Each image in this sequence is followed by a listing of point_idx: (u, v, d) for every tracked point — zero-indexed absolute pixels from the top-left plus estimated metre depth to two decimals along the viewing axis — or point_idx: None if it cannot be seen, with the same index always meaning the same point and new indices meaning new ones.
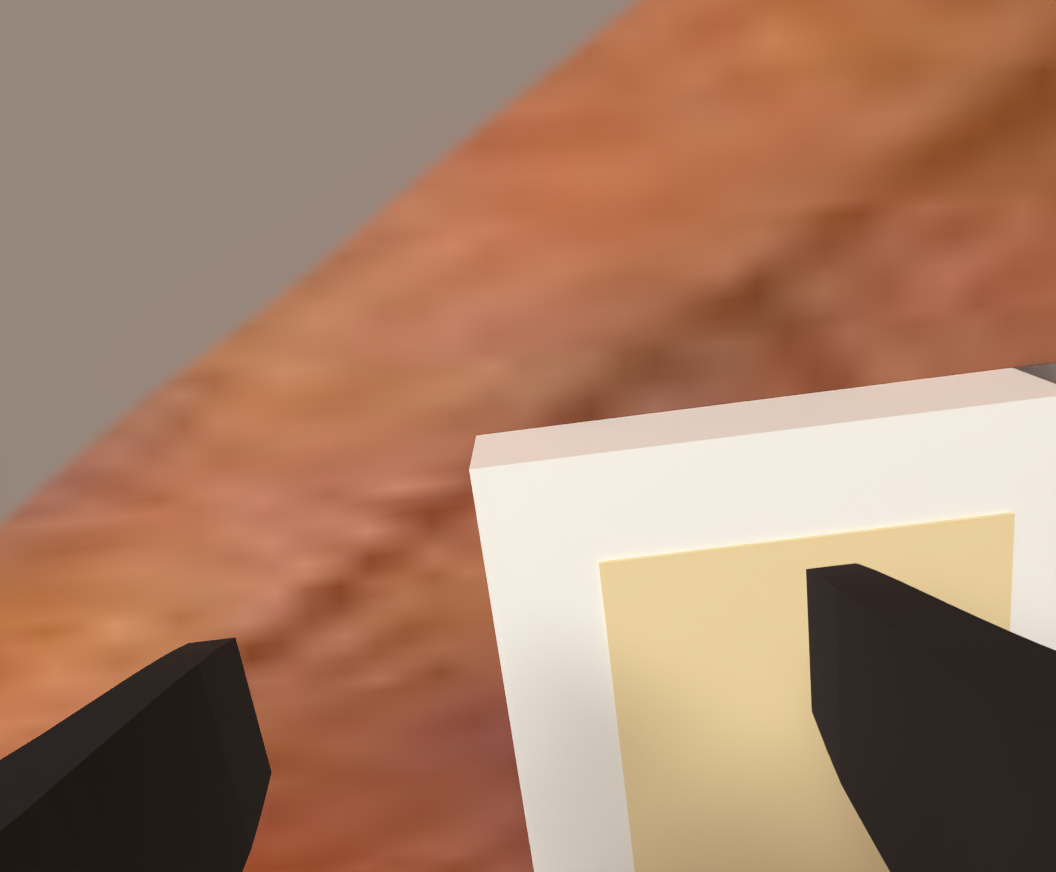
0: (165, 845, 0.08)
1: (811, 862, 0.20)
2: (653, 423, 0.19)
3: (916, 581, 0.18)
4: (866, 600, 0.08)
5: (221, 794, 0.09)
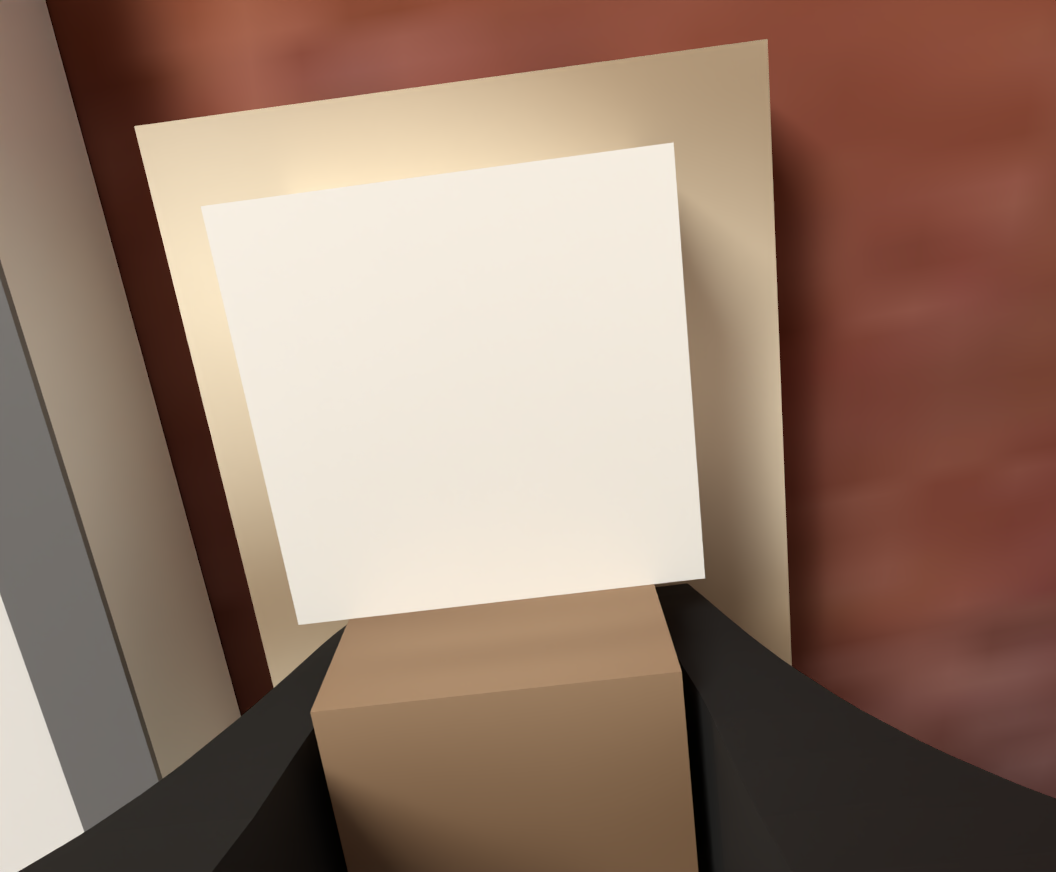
0: None
1: None
2: None
3: None
4: (668, 624, 0.08)
5: None
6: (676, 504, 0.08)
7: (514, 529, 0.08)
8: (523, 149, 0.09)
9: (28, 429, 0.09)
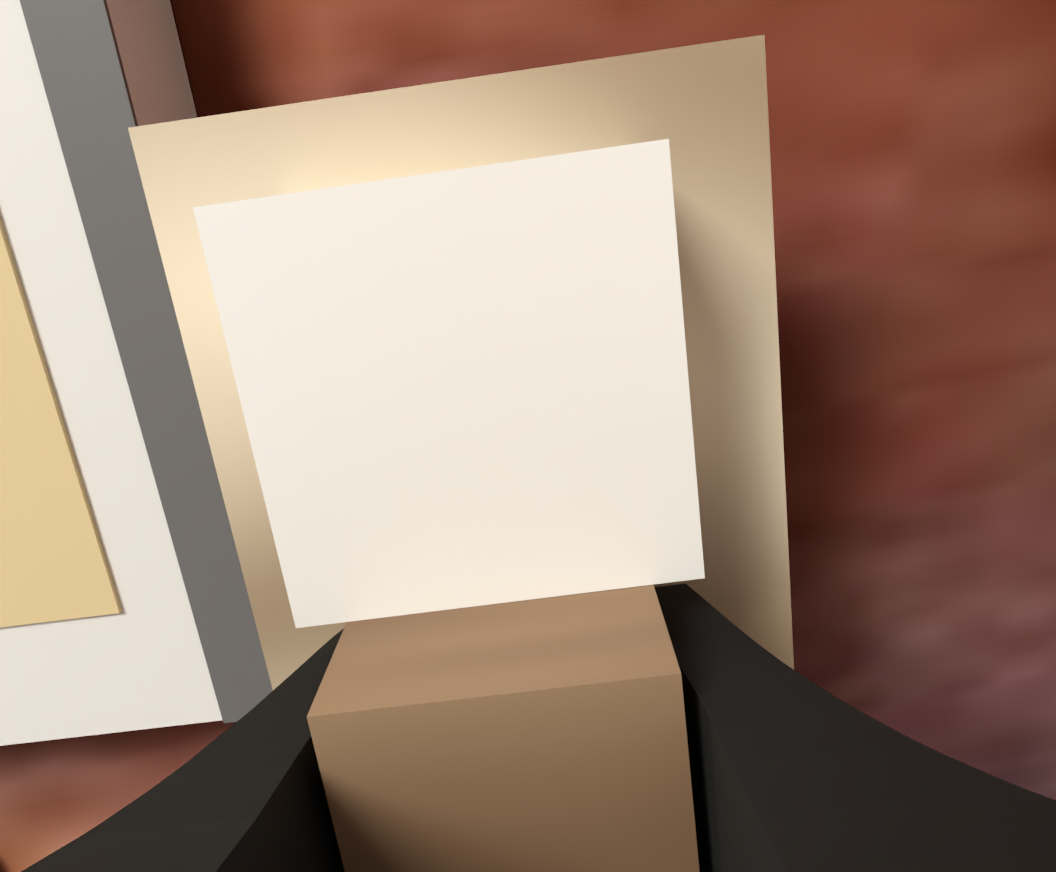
0: None
1: None
2: None
3: None
4: (666, 624, 0.08)
5: None
6: (675, 504, 0.08)
7: (512, 530, 0.08)
8: (519, 148, 0.09)
9: (180, 355, 0.13)
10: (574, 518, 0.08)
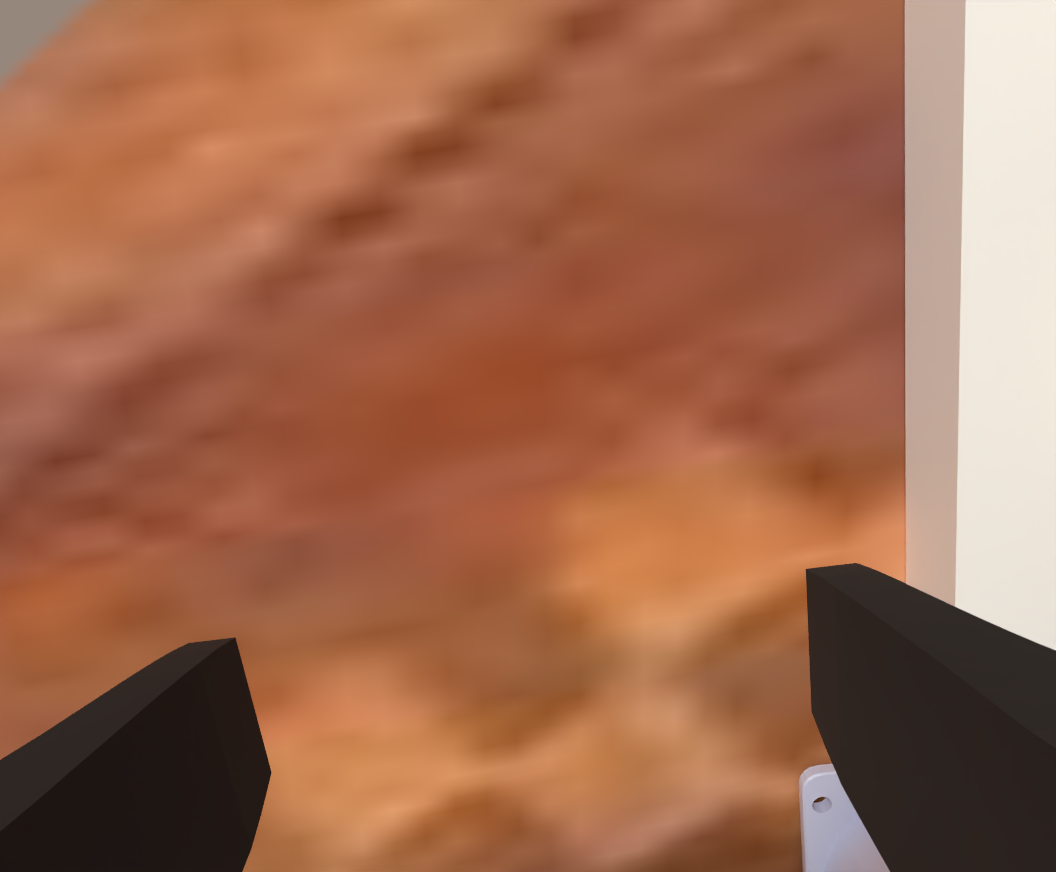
0: (165, 845, 0.08)
1: None
2: None
3: None
4: (866, 600, 0.08)
5: (221, 794, 0.09)
6: None
7: None
8: None
9: None
10: None
